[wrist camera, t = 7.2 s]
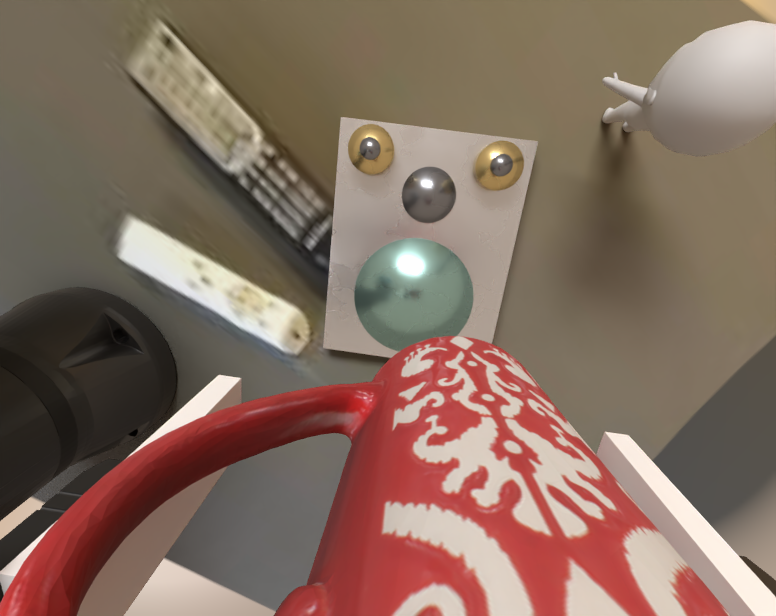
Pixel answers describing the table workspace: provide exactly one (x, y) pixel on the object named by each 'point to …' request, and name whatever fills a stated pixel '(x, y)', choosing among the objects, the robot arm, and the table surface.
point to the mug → (408, 501)
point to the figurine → (707, 92)
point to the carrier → (421, 234)
